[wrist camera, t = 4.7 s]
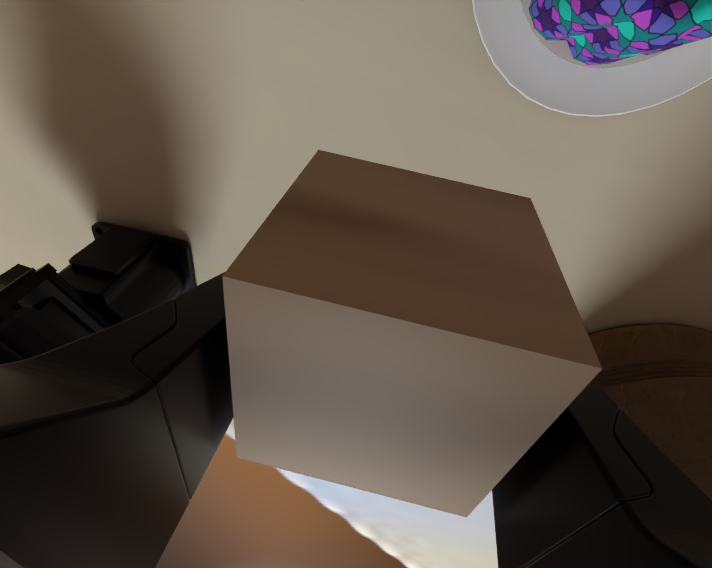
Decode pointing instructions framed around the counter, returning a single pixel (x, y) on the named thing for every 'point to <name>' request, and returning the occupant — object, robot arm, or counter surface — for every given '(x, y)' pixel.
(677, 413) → the wooden container
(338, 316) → the walnut block
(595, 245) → the counter surface
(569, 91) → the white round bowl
